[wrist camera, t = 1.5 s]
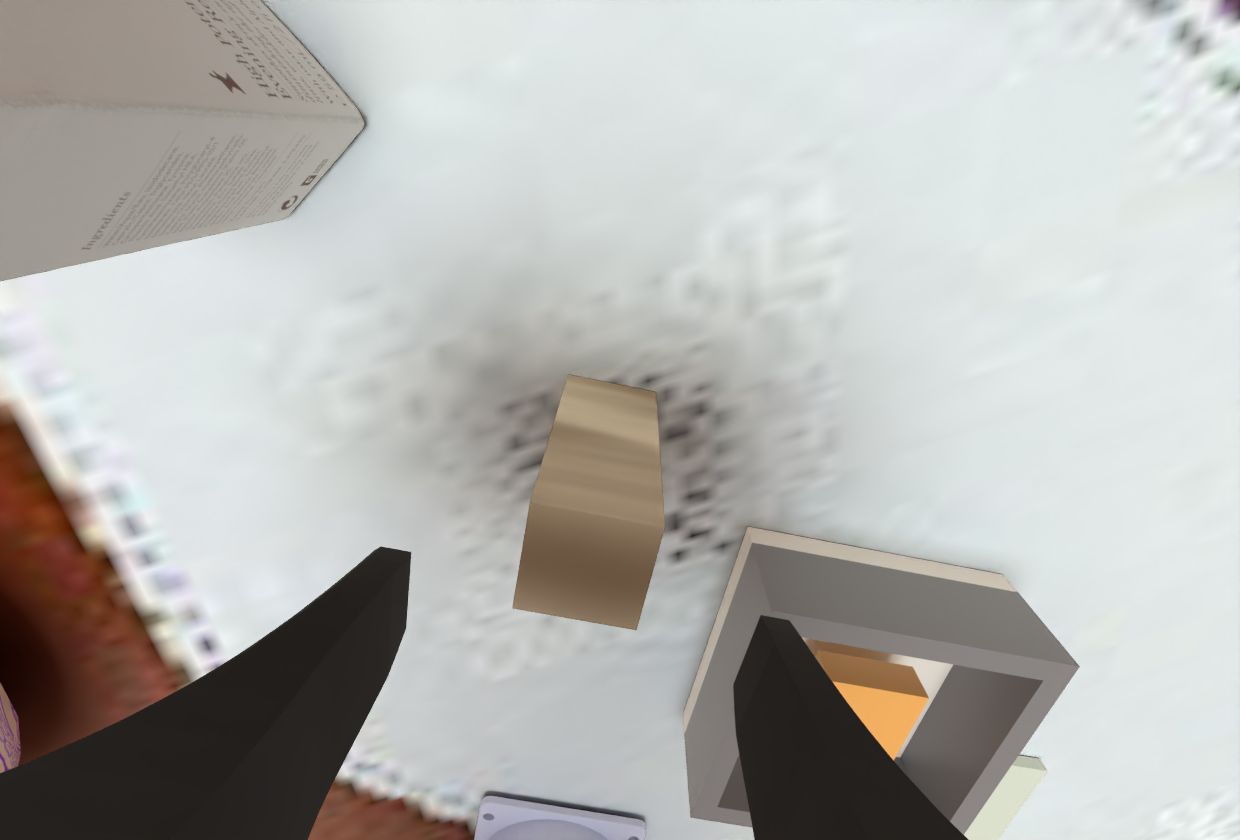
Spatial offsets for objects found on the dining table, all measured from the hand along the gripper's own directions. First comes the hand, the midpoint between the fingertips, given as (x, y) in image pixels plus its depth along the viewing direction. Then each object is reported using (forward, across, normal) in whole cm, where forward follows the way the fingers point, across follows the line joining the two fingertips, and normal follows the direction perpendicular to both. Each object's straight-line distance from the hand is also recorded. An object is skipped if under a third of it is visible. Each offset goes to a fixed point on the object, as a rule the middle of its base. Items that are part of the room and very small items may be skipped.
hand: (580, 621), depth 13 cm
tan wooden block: (+10, 0, 0) cm, 10 cm away
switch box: (+9, -11, +8) cm, 17 cm away
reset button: (+7, -11, +8) cm, 15 cm away
